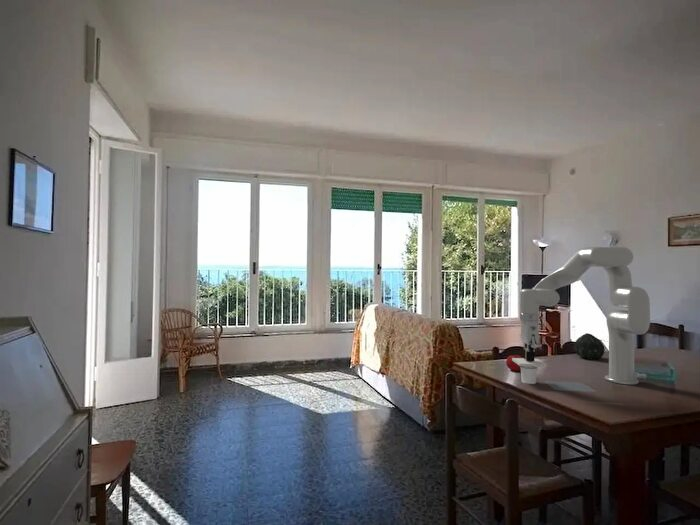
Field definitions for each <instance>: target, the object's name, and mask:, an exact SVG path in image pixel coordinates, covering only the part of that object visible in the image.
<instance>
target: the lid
mask: <svg viewBox="0 0 700 525" xmlns="http://www.w3.org/2000/svg"><path fill="white" fill-rule="evenodd" d="M526 351H527V348H525V359H524V357H522V358H512V361H514V362H515V363H516V364H518V365H519V366H534V367H537V368H538V367H540V368H543V367H544V368H546V367H548V365H547V363H545V362H544V361H542V360H540V359H539V358H534V361H527V360H526Z"/></svg>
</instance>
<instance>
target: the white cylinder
mask: <svg viewBox="0 0 700 525" xmlns="http://www.w3.org/2000/svg"><path fill="white" fill-rule="evenodd" d="M520 367H521V371H520V376H521V383H523V384H528V385H535V384H536V383H537V375H538V374H537V373H538V367H537V366H520Z"/></svg>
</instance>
